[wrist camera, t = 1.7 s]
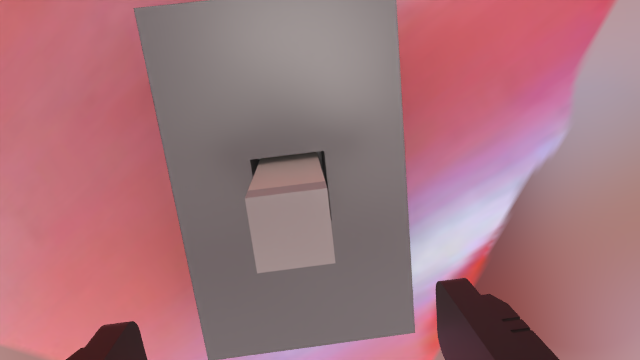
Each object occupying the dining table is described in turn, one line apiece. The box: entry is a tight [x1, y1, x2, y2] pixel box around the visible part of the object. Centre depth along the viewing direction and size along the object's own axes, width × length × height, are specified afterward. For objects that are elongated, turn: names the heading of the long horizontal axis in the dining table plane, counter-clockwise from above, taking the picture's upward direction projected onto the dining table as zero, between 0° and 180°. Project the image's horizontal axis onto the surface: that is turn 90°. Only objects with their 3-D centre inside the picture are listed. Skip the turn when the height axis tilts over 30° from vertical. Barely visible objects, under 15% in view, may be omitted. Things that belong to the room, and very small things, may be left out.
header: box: [134, 0, 415, 360], centre depth 27 cm, size 14×22×4 cm, turn 6°
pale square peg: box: [245, 152, 335, 273], centre depth 23 cm, size 4×4×11 cm
